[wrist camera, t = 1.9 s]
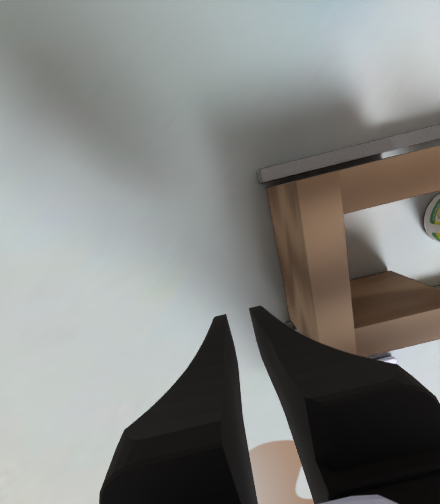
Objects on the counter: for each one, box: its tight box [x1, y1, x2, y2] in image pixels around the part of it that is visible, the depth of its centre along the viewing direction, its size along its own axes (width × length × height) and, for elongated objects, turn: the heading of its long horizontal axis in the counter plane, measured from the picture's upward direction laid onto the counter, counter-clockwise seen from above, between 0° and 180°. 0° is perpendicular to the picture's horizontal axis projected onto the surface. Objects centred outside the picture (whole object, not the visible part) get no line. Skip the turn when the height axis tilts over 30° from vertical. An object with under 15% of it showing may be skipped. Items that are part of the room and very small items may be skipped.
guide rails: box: [257, 124, 440, 332], centre depth 19 cm, size 16×21×2 cm
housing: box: [266, 145, 440, 357], centre depth 17 cm, size 13×10×6 cm
